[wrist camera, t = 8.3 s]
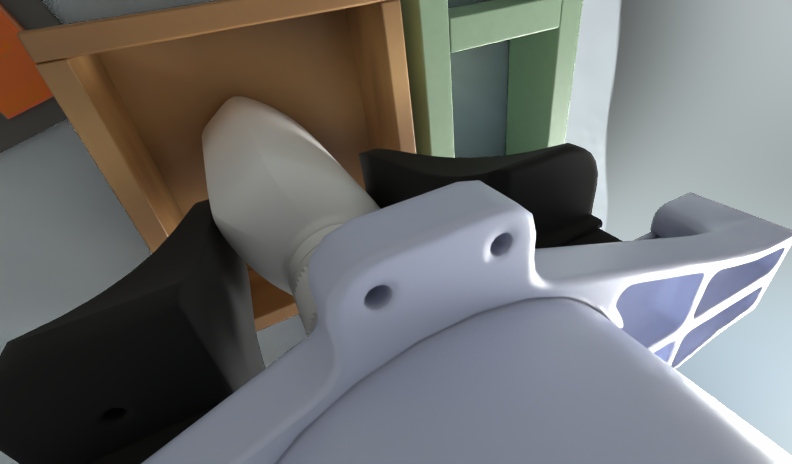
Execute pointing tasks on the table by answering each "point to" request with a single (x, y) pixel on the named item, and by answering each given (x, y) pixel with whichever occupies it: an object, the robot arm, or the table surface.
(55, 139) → the table surface
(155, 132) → the open wooden box
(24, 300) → the table surface
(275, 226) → the eye dropper bottle
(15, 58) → the calculator
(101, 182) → the table surface
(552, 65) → the green divided tray
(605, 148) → the table surface
